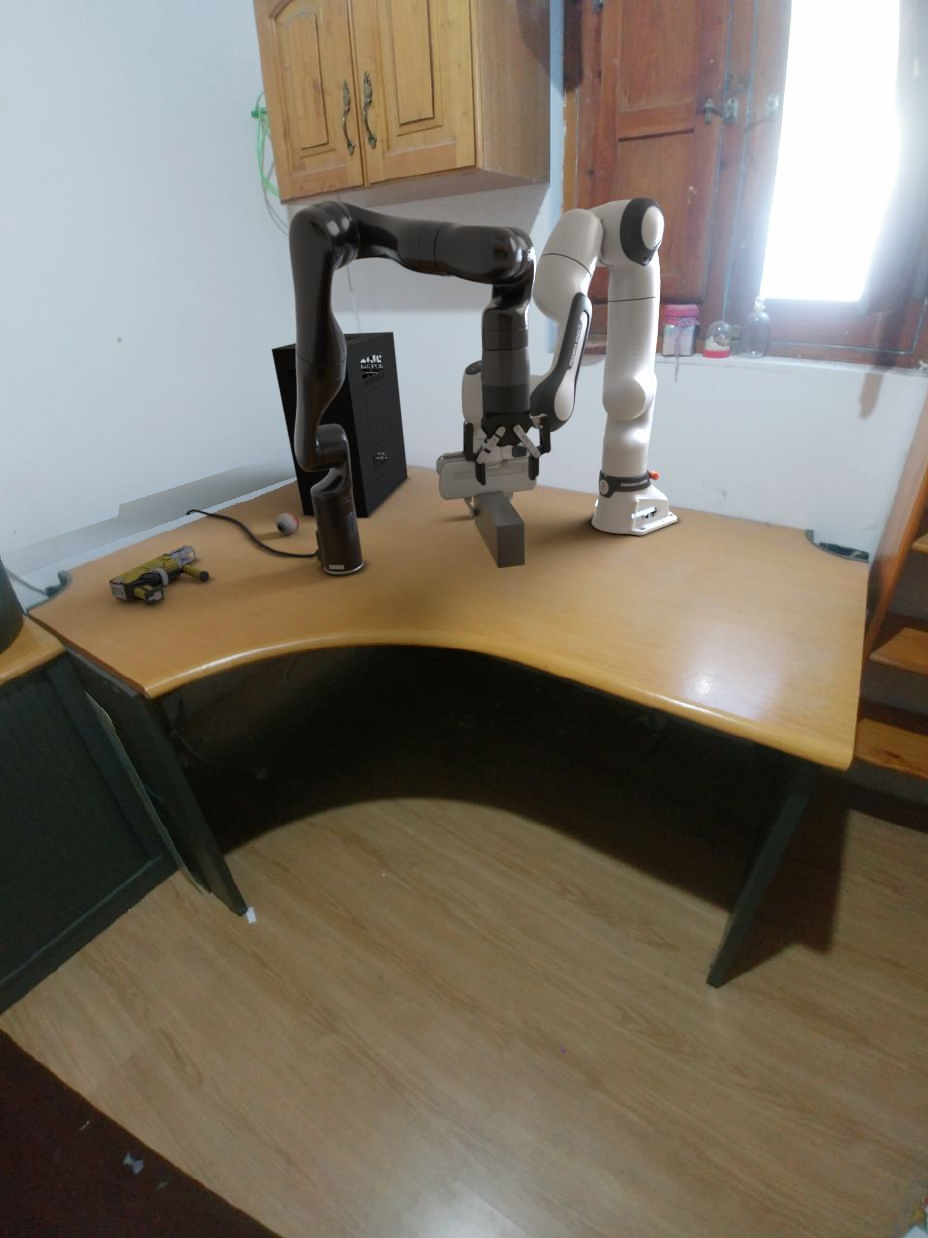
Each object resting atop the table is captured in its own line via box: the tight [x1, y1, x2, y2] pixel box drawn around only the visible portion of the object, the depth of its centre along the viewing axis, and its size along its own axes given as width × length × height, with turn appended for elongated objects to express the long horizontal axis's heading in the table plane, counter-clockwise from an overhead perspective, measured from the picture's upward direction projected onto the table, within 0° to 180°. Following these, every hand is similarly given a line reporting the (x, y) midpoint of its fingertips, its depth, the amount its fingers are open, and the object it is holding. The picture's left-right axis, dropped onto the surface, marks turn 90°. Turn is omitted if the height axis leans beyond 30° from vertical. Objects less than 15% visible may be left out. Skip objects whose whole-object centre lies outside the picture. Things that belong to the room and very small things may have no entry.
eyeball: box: [275, 511, 300, 536], centre depth 163 cm, size 6×6×6 cm
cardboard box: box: [271, 331, 409, 518], centre depth 180 cm, size 38×20×45 cm, turn 167°
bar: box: [472, 491, 526, 569], centre depth 120 cm, size 24×5×8 cm, turn 10°
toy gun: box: [108, 544, 210, 607], centre depth 141 cm, size 5×24×15 cm
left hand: (507, 481), depth 102 cm, fingers open, 8 cm apart
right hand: (489, 514), depth 127 cm, fingers closed on bar, 5 cm apart
